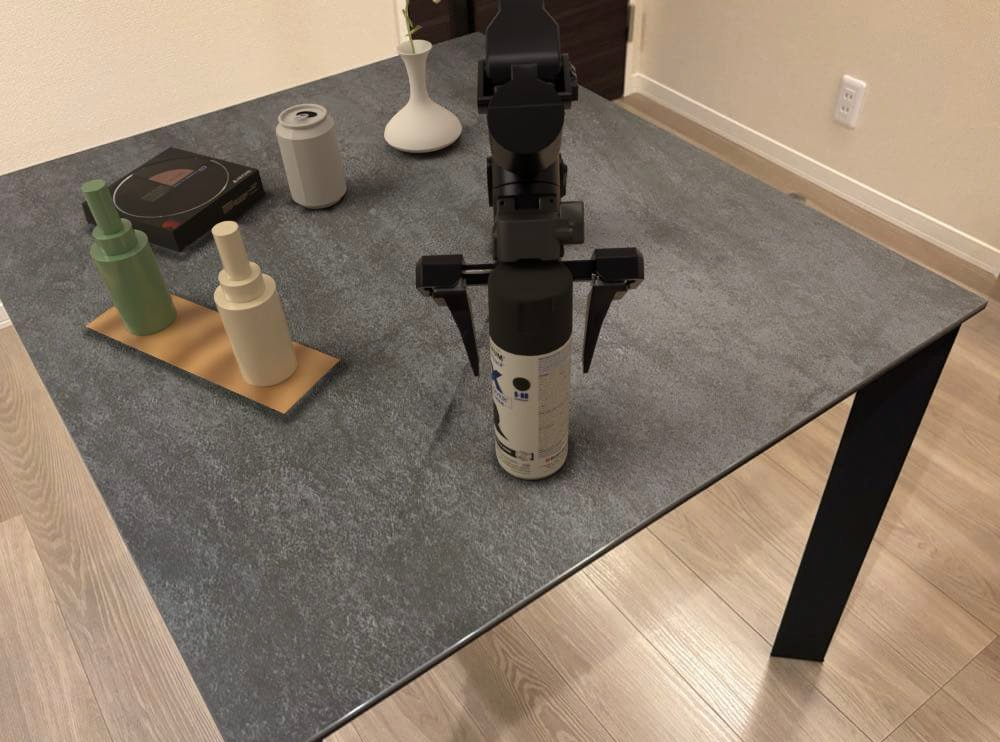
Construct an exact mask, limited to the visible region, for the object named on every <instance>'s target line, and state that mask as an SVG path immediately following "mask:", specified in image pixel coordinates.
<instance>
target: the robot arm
mask: <svg viewBox="0 0 1000 742" xmlns="http://www.w3.org/2000/svg"><path fill="white" fill-rule="evenodd" d="M476 83H477V84H476V85H477V86H476V107H477V113H478V115H486V116H485V117H486V125H487V133H488V139H489V148H490V153H491V155H487V156H486V184H487V185H486V186H487V197H488V198H487V199H488V207H489V208H492V214H493V216H492V217H493V225H492V227H491V243H492V244H491V249H492V251H491V252H492V261H494V262H492V263H470V264H469V263H466V260H465V258H464V255H463V254H462V253H455V254H454V253H453V254H452V253H451V254H433V255H432V254H430V255H429V254H427V255H421V256H420V257H419V259H418V260H417V262H416V263H415V269H414V270H415V289H416V290H417V291H418V292H419V293H420V295H421V296H422V297H425V298H432V301H434V303H435V304H436V305H437V306H438V307H448V310H449V312H450V314H451V316H452V318H453V321H454V323H455V324H456V327H457V329H458V331H459V334H460V337H461V341H462V343H463V346H464V349H465V352H466V355H467V358H468V361H469V364H470V368H471V370H472V373H473V376H474V377H477V378H479V377H480V374H481V373H480V354H479V347H478V340H477V333H476V327H475V320H474V313H473V312H474V311H473V305H472V299H471V297H470V296H469V293H468V290H469V287H484V286H485V287H488V278H489V275H490V273H491V272H492V270H493V269H494V268H496V266H497V265H499V264H501V263H502V262H516V261H517V260H519V259H540V260H542V261H552V260H557V261H559V262H561V263H563V264H564V265H566V267H567V268H568V269H569V271H570V272H571V274H572V276H573V283H589V286H590V287H591V288H590V290H589V292H588V294H587V296H586V305H585V319H584V330H583V341H582V352H581V365H582V374H583V375H584V374H589V371H590V368H591V365H592V360H593V358H594V354H595V351H596V347H597V343H598V340H599V336H600V333H601V330H602V326H603V323H604V321H605V318H606V316H607V314H608V312H609V310H610V307H611V304H612V302H613V301H621V300H622V299H623V298H624V297H625V295H626V294H627V293H628V292H629V290H630V291H631V290H637V289H638V287H639V286H640V285H641V284H642V283H643V282H644V281H645V258H644V254H643V253H642V252H641V251H640V249H639V248H638V247H636V246H631V247H630V246H629V247H605V248H603V247H601V248H594V250H593V252H592V255H591V256H590V259H573V260H572V259H571V260H570V259H569V260H563V258H564V256H565V246H575V245H583V244H584V243H585V210H584V209H585V206H584V205H585V204H584V203H585V202H584V201H583V200H568V201H567V200H566V201H565V200H564V201H562V199H563V198H564V197H565V196H567V180H568V179H567V178H568V171H569V169H568V168H569V167H568V165H567V164H566V163H565V162H564V159H563V158H562V152H560V151H561V146H562V140H563V139H562V137H563V131H564V124H565V116H566V113H565V111H567V110H572V103H573V102H579V82H578V77H577V71H576V67H575V66H574V65H573V64H572V63H571V57H569V53H561V35H560V25H559V23H558V22H557V21H556V20H555V19H554V18H553V17H552V16H551V14H550V13H549V12H548V11H547V10H546V8H545V0H498V12H497V13H496V15H495V16H494V17H493V19H492V20H491V22H490V23H489V25H487V27H486V29H485V58H477V82H476Z"/></svg>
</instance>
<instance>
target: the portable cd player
mask: <svg viewBox="0 0 1000 742" xmlns="http://www.w3.org/2000/svg"><path fill="white" fill-rule="evenodd" d="M107 187H108V189H109V192H110V194H111V196H112V199H113V201H114V204H115V206H116V208H117V211H118V213H119V216H120V218H124V219H127V220H129V221H130V222H131V224H132V226H133V229H135V230H139V231H142V232H144V233H145V234H146V235H147V237H148V240H149V242H150V244H153V245H155V246H159V247H161V248H165V249H168V250H170V251H174V252H177V253H181V252H183V251H184V250H185V249H187V248H188V247H189V246H190V245H192V244H193V243H194V242H196V241H197V240H199V239H200V238H202V236H204V235H206V234H207V233H208V232H209V231H212V228H213V227H214V226H215V225H217V224H218V223H221V222H225V221H233V222H234V220H236V219H237V218H238V217H239V216H241V215H242V214H243V213H245V212H246V211H247V210H249V209H250V208H252V207H253V206H254V205H255V204H256V203H258V202H259V201H261V200H262V199H263V198H264V197H266V192H265V188H264V184H263V180H262V177H261V173H260V170H259V168H255V167H252V166H247V165H243V164H240V163H237V162H236V163H235V162H232V161H228V160H224V159H220V158H216V157H213V156H209V155H204V154H201V153H198V152H193V151H189V150H185V149H181V148H178V147H174V146H170V147H168V148H166V149H164V150H163V151H161V152H160V153H158V154H157V155H155V156H153V157H152V158H150V159H148V161H146V162H144V163H142V164H141V165H139V166H138V167H136V168H135V169H133V170H131V171H130V172H129V173H127V174H125V175H124V176H122V177H121V178H119V179H117V180H116V181H115V182H113V183H111V184H109V185H107ZM81 207H82V209H83V213H84V216H85V221H86V222H87V223H88V224H90V225H91V224H92V225H93V226H97V224H96V221H95V219H94V217H93V215H92V212H91V210H90V208H89V206H88V203H87V201H86V200H84V201H83V202H81Z"/></svg>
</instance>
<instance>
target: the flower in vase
mask: <svg viewBox="0 0 1000 742" xmlns="http://www.w3.org/2000/svg"><path fill="white" fill-rule="evenodd" d="M432 2H433V3H435V4H439V3H440V2H441V0H432ZM409 4H410V0H406V1H405V7H404V8H401V12H402V14H403V17H404V19H405V24H406V30H407V34H405V36H404V37H405V38H406V37H409V38H408V39H409V40H406V41H403V42H400V43H398V44H397V45H396V46H395V49H394V50H395V52H396V53H397V54H398V55H399V56H400V58H401V60H402V62H403V64H404V66H405V68H406V73H407V76H408V82H409V89H410V94H409V95H410V96H409V100H408V102H407V103H406V104H405V105H404V106H403V107H402V108H401V109H400V110H398V112H397V113H395V115H393V117H391V119H390V120H389V121H388V122H387V124H386V125H385V129H384V133H383V136H384V139H385V141H386V142H387V143H388V144H389V145H390V146H391V147H392V148H394V149H395V150H398V151H401V152H404V153H411V154H413V153H414V154H423V153H432V152H436V151H439V150H442V149H445V148H447V147H449V146H450V145H451V146H452V144H454V143H455V142H456V141H457V140H458V139H459V137H460V135H461V134H462V131H463V126H462V124H461V122H460V120H459V117H457V116H456V115H455V114H454V113H453V112H452V111H450V110H448V109H446V108H445V107H443V106H442V105H440V104H438V103H437V102H435V101H433V100H432V99H431V98H430V96H429V94H428V91H427V84H426V65H427V59H428V56H429V53H430V52H431V50H432V48H433V44H432V43H431V42H430V41H428V40H424V39H413V37H412V35H413V34H414V33H416V32H417V31H418V30H420V29H422V28H423V26H421V25H419V24H417V25H416V26H415V28H414V27H413V22H412V20H411V19H410V17H409V15H408V12H409V11H408V10H409V9H408V8H409ZM410 27H411V28H414V29H412V30H411V28H410Z"/></svg>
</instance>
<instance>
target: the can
mask: <svg viewBox="0 0 1000 742" xmlns="http://www.w3.org/2000/svg"><path fill="white" fill-rule="evenodd" d="M277 117H278V118H277V121H278V123H277V125H276V127H275V134H276V139H277V141H278V146H279V150H280V155H281V158H282V162H283V167H284V171H285V175H286V179H287V182H288V188H289V191H290V195H291V199H292V200H293V201H294V202H295V203H297V204H298V205H300V206H302V207H304V208H307V209H310V210H313V209H314V210H318V209H325V208H329V207H331V206H333V205H335V204H337V203H338V202H339V201H340V200H341V198H342V197H343V196H344V195H345V194H346V192H347V182H346V177H345V172H344V167H343V161H342V157H341V156H342V155H341V152H340V146H339V140H338V135H337V129H336V125H335V119H334V118H333V117H332V115H331V116H330V115H329V114H328V110H327V109H326V108H325V106H322V105H320V104H316V103H301V104H296V105H293V106H290V107H288V108H286V109H284V110H282V111H281V112H280V113H279V115H278V116H277Z"/></svg>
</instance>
